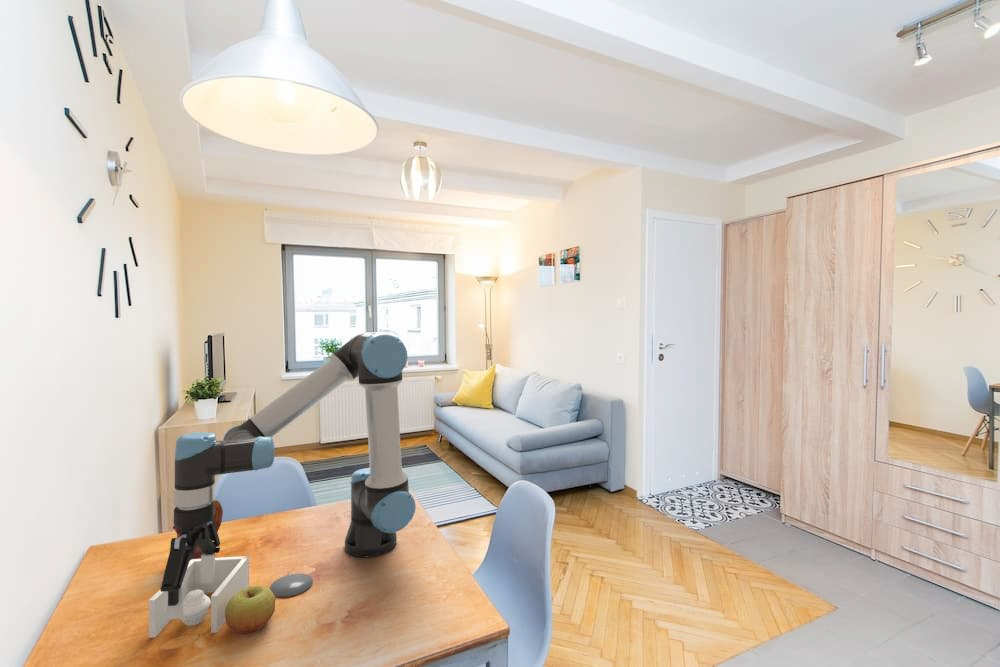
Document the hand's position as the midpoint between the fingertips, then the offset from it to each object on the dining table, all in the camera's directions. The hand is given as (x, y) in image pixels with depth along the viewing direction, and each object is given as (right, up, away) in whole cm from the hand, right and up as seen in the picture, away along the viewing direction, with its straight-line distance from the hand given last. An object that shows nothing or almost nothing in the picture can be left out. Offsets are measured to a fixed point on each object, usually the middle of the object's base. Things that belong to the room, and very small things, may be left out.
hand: (192, 599), depth 102 cm
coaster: (+15, -5, +15) cm, 22 cm away
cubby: (0, -5, +4) cm, 7 cm away
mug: (-17, -5, +28) cm, 33 cm away
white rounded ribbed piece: (0, -5, 0) cm, 5 cm away
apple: (+13, -6, -1) cm, 15 cm away
